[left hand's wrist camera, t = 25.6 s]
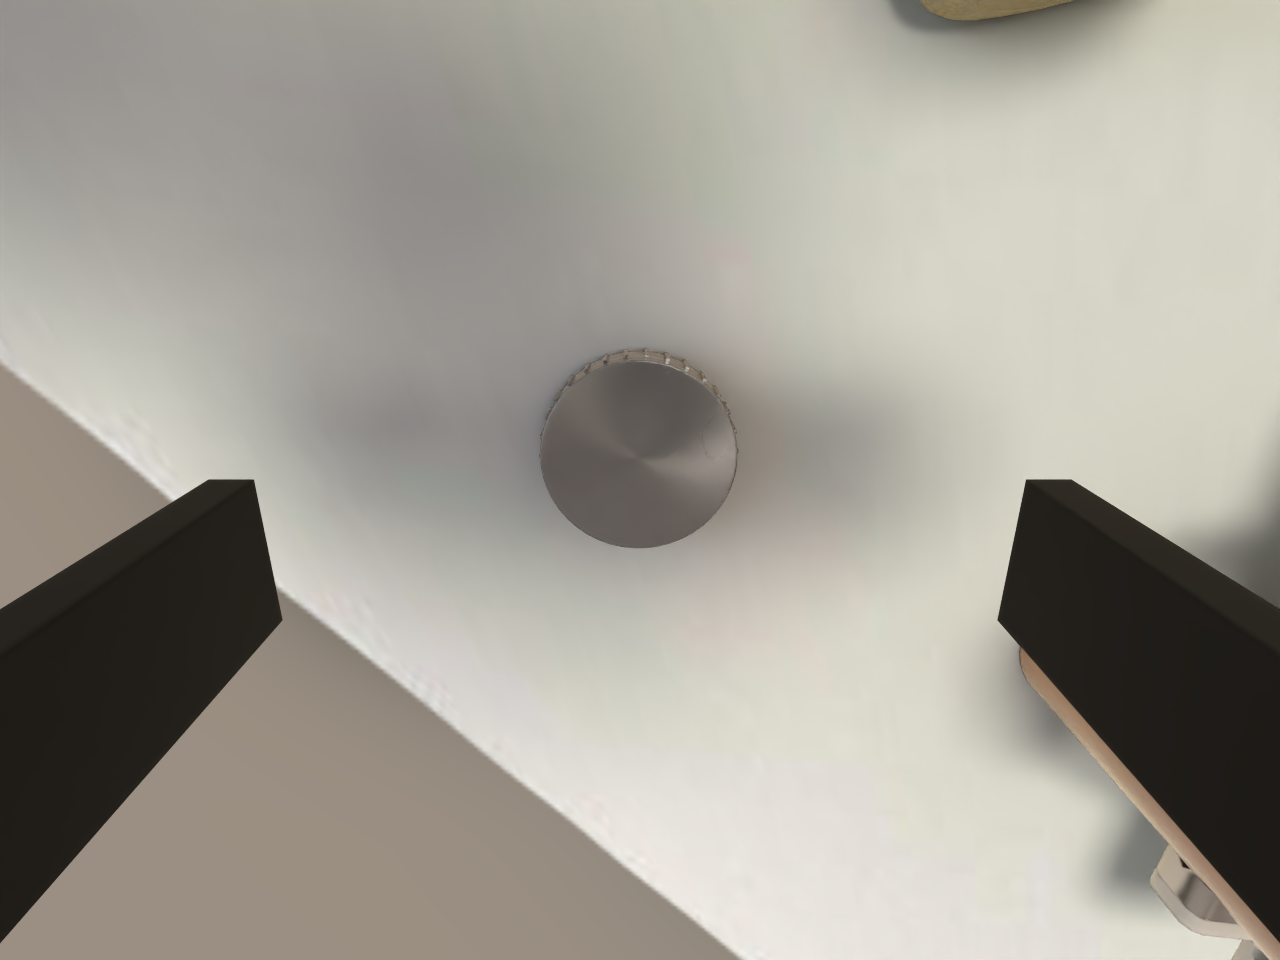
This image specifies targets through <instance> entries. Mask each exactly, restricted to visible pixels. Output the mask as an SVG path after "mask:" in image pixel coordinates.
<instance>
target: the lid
mask: <svg viewBox="0 0 1280 960" xmlns="http://www.w3.org/2000/svg"><path fill="white" fill-rule="evenodd" d="M720 396H721V395H720V393H719V391H718V389H717V387H716V386H713V387H712V385H711V384H710V383H709V382H708V381H707V380H706V377H705V375H704V373H703V372H702V371H701V372H700V373H699V372H697V371H696V370H695V369H694V368H692V367H691V366H689V365H688V362H687V361H686V360H684V361H683V362H682V361H680V360H678V359H676V358H673V357H671V356H669V353H667V352H665V354H660V353H656V352H649V351H648V349H645V351H630V352H628V349H625V350H624V352H623V353H617V354H614V355H610V356H608V354H605V355H604V358H602V359H600V360H598V361H595V362H594V363H592V364H590V363H589V362H588V363H587V364H586V365H585V368H584V369H583V370H582V371H580V372H579V373H578V374H577V375H575V376H574V375H572V376H570V379H569V381H568V383H567V385H566V386H565V388H564V389H563V390H562V391H561V390H559V391H558V393H557V395H556V397H555V399H554V401H556V402H555V404H554V406H553V408H552V407H550V409H549V411H548V413H547V415H546V417H545V419H547V421H546V424H545V427H544V429H543V431H542V433H541V435H540V438H541V439H542V440H541V450H540V458H541V468H542V473H543V478H544V481H545V484H546V486H547V489H548V491H549V493H550V495H551V497H552V499H553V501H554V502H555V504H556V505H557V507H558V508H559V510H560V511H561V512H562V513H563V514H564V515H565V517H566V518H567V519H568V520H569V521H570V522H572V523H573V524H574V525H575V526H576V527H577V528H579V529H580V530H582V531H583V532H585V533H586V534H588V535H590V536H592V537H594V538H596V539H598V540H600V541H603V542H606V543H608V544H612V545H616V546H621V547H629V548H649V547H657V546H662V545H665V544H669V543H672V542H675V541H677V540H680V539H682V538H684V537H686V536H688V535H690V534H691V533H693V532H695V531H696V530H697V529H699V528H700V527H702V526H703V525H704V524H705V523H706V522H707V521H708V520H709V519H710V518H712V516H713V515H714V514H715V513H716V512H717V510H718V509H719V508H720V506H721V505H722V503H723V502H724V500H725V499H726V497H727V495H728V493H729V490H730V488H731V486H732V483H733V479H734V476H735V472H736V465H737V453H738V448H737V443H736V436H735V434H736V433H737V432H736V429H735V427H734V425H733V423H732V421H731V420H730V417H729V414H731V413H730V411H729V409H728V407H727V405H726V403H725V402H724V403H722V401H721V399H720Z"/></svg>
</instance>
